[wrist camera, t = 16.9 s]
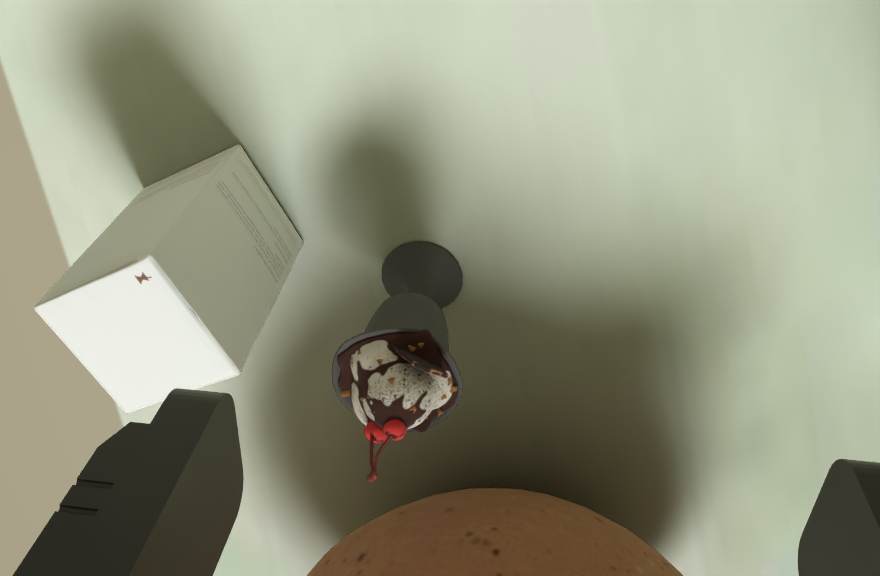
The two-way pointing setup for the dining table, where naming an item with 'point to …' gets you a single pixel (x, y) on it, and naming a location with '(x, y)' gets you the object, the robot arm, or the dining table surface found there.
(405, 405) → the sundae
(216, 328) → the supplement box
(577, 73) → the dining table surface
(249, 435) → the dining table surface
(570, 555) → the clay pot
